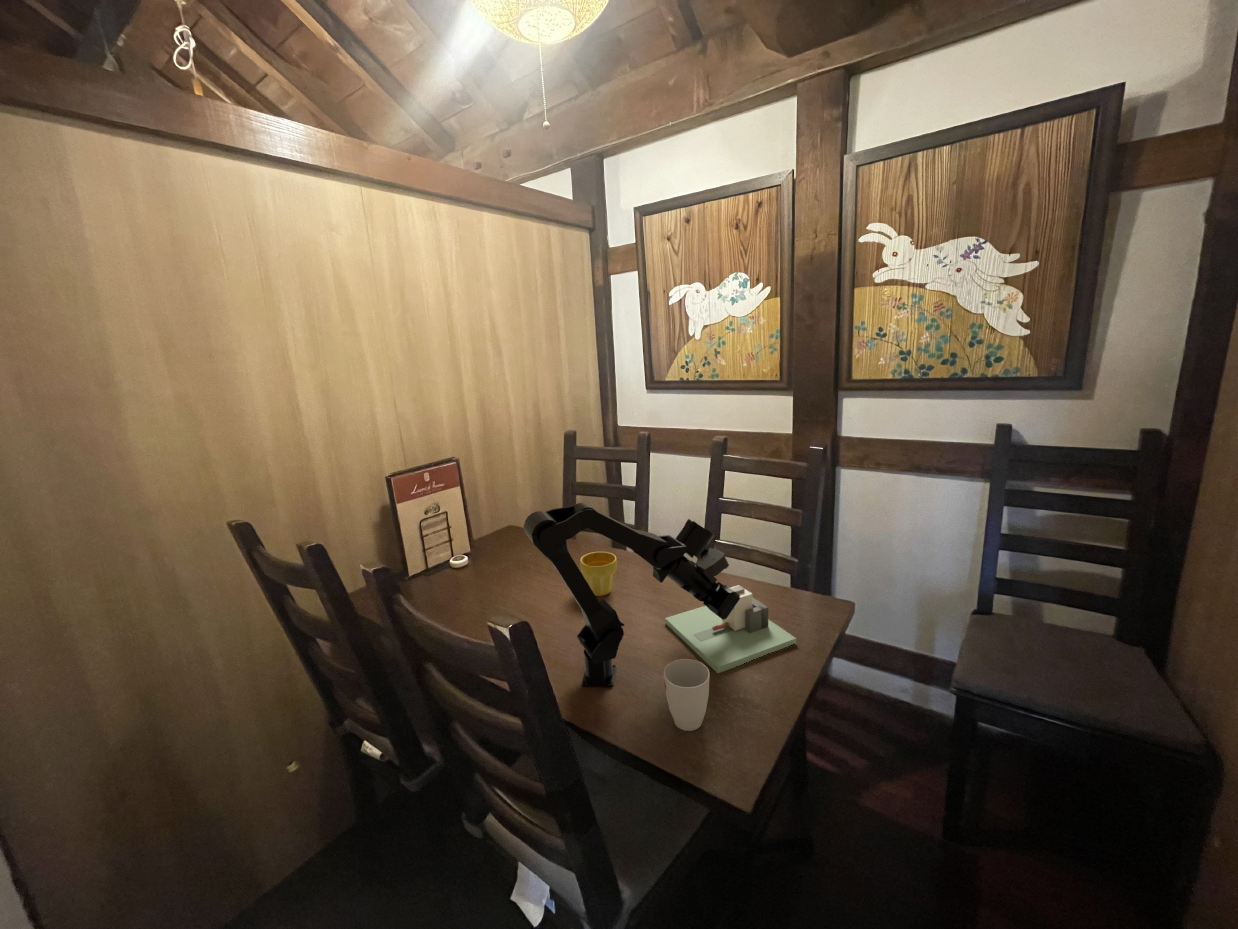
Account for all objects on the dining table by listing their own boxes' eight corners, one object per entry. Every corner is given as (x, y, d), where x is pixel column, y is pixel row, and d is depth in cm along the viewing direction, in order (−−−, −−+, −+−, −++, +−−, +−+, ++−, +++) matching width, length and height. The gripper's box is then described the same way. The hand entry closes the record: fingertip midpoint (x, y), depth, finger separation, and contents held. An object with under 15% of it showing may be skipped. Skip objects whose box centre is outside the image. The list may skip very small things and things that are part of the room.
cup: (681, 699, 96) (679, 653, 94) (718, 716, 91) (718, 668, 89) (657, 724, 90) (654, 676, 88) (696, 744, 85) (694, 694, 83)
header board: (717, 673, 103) (717, 663, 103) (665, 623, 123) (665, 615, 122) (796, 644, 111) (796, 635, 111) (735, 601, 131) (735, 593, 130)
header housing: (749, 633, 114) (749, 613, 113) (726, 615, 122) (726, 597, 121) (768, 626, 116) (768, 607, 115) (744, 610, 124) (744, 591, 123)
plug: (719, 636, 113) (718, 601, 111) (706, 625, 117) (705, 591, 115) (752, 625, 116) (752, 590, 114) (739, 615, 121) (738, 582, 119)
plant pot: (625, 586, 143) (623, 554, 141) (606, 602, 135) (603, 569, 133) (595, 579, 149) (592, 548, 146) (575, 594, 140) (572, 562, 138)
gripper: (731, 557, 101) (774, 593, 108) (683, 529, 118) (723, 562, 125) (700, 603, 100) (745, 636, 107) (655, 568, 117) (697, 599, 123)
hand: (727, 605), depth 115 cm, fingers closed, pressing on plug
